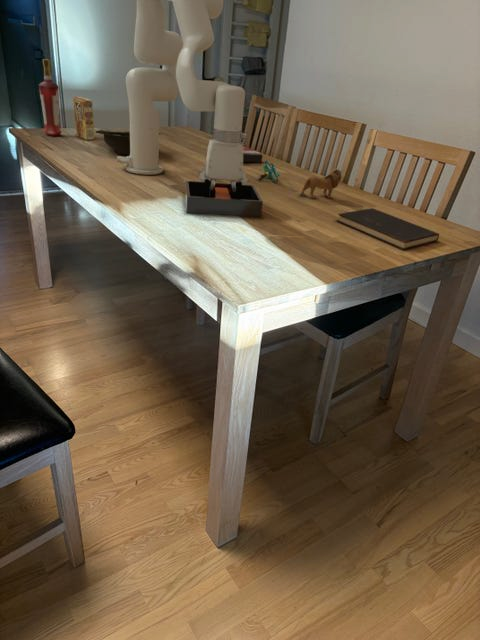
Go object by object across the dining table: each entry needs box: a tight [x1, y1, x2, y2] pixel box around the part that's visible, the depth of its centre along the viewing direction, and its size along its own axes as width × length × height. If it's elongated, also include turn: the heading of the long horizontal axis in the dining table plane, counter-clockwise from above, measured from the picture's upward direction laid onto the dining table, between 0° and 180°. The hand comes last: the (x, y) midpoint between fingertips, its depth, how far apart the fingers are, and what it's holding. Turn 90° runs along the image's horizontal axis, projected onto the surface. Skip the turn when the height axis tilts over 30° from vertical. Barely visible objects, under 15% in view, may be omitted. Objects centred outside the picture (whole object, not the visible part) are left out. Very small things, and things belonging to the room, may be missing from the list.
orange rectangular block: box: [215, 187, 231, 199], centre depth 136 cm, size 4×12×4 cm, turn 7°
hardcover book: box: [336, 207, 440, 251], centre depth 133 cm, size 16×23×2 cm
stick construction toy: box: [258, 160, 281, 183], centre depth 170 cm, size 12×7×8 cm
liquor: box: [38, 58, 62, 137], centre depth 192 cm, size 7×7×28 cm
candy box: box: [72, 96, 96, 141], centre depth 197 cm, size 9×4×15 cm, turn 44°
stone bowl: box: [94, 129, 162, 156], centre depth 186 cm, size 25×25×9 cm
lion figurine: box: [299, 168, 343, 200], centre depth 155 cm, size 15×5×9 cm, turn 116°
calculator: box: [243, 147, 263, 164], centre depth 193 cm, size 11×4×15 cm
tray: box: [184, 180, 264, 219], centre depth 136 cm, size 21×17×5 cm
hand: (221, 202), depth 136 cm, fingers closed on orange rectangular block, 4 cm apart
